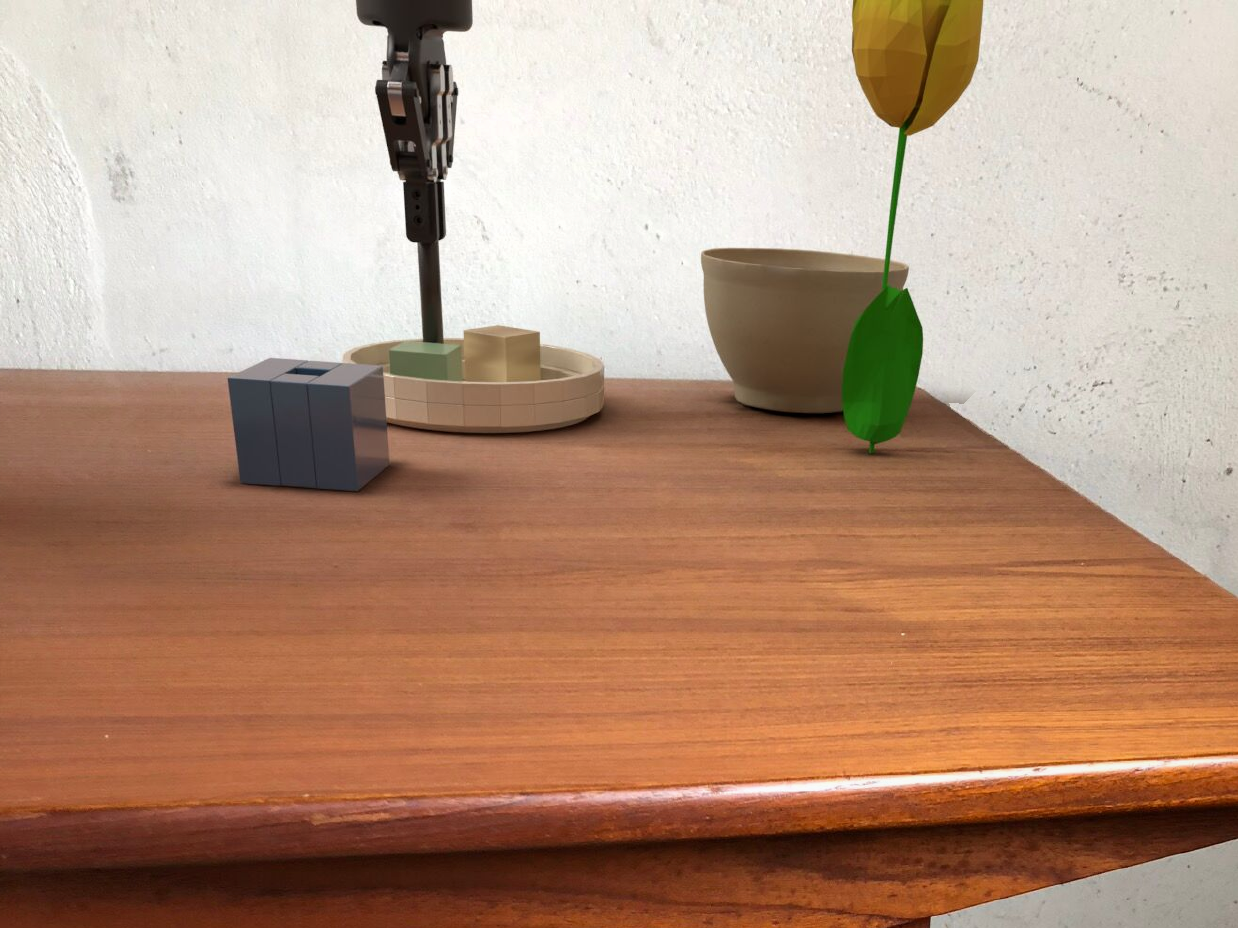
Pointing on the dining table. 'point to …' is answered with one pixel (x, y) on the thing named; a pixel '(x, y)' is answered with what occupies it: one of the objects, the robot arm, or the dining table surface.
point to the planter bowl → (789, 320)
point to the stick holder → (309, 423)
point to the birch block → (501, 354)
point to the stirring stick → (430, 292)
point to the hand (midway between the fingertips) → (426, 240)
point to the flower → (912, 101)
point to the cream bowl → (491, 394)
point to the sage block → (426, 361)
